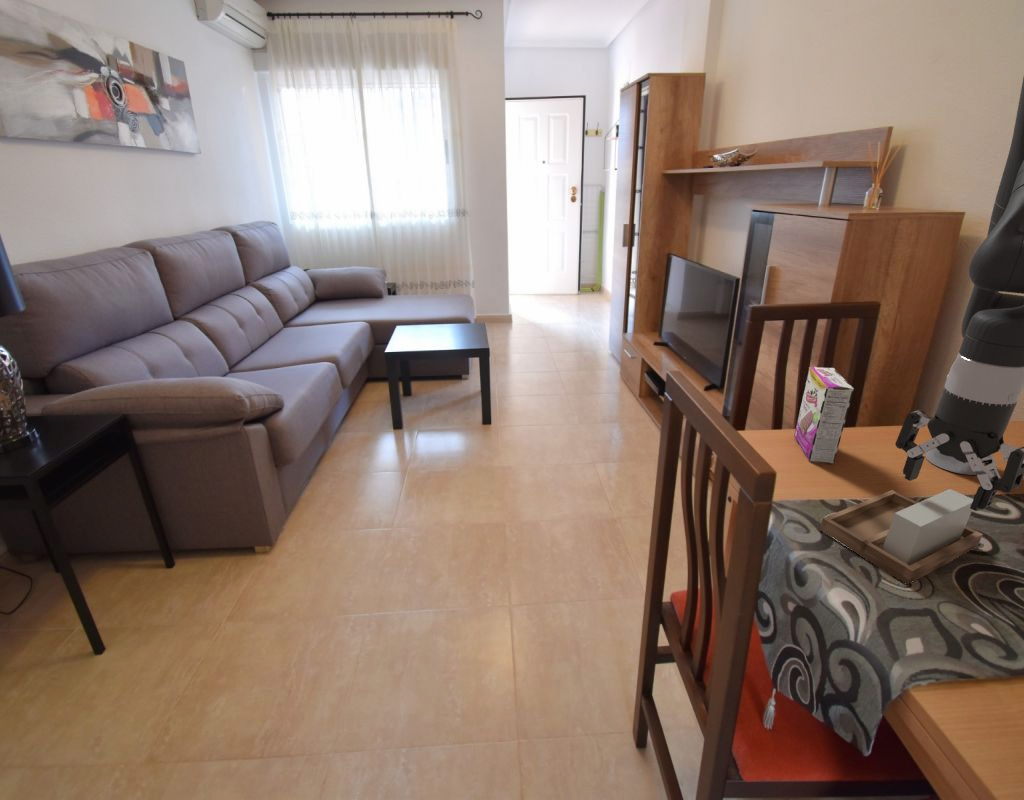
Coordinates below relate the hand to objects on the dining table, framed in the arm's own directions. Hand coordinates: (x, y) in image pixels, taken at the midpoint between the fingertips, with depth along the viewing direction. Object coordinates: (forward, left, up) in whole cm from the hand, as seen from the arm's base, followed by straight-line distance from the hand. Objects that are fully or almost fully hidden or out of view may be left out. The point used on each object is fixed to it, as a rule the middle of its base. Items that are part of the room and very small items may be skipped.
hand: (941, 492), depth 76 cm
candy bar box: (-14, -28, -11) cm, 33 cm away
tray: (0, -3, -11) cm, 11 cm away
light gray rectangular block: (0, 0, -10) cm, 10 cm away
